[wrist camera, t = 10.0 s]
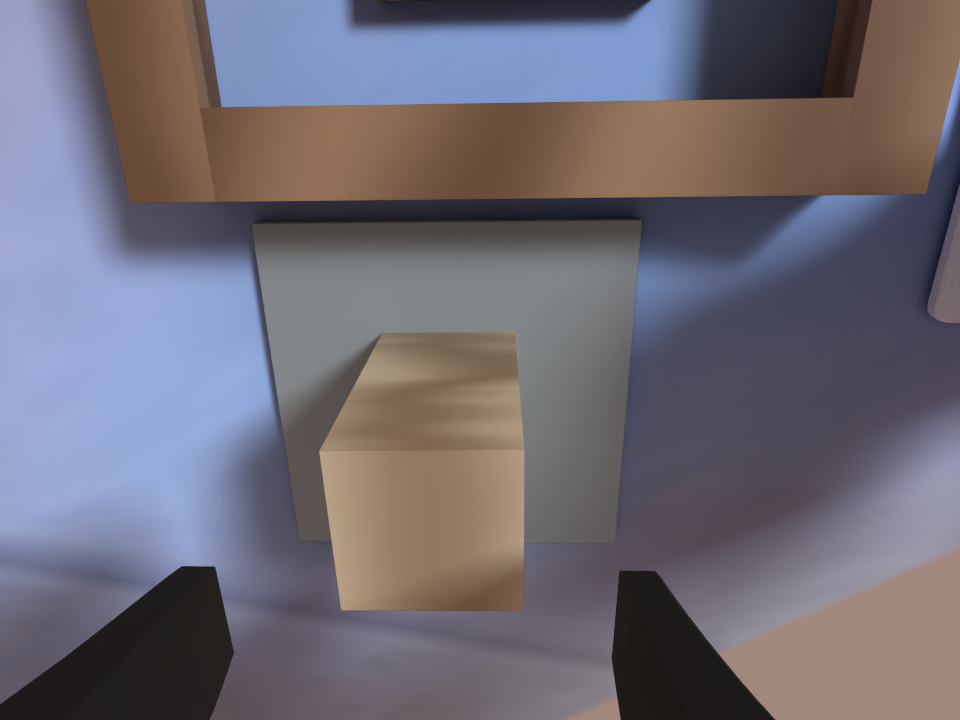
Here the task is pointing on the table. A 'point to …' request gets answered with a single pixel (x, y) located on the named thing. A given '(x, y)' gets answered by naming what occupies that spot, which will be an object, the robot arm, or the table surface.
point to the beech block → (430, 476)
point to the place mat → (463, 308)
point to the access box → (529, 126)
